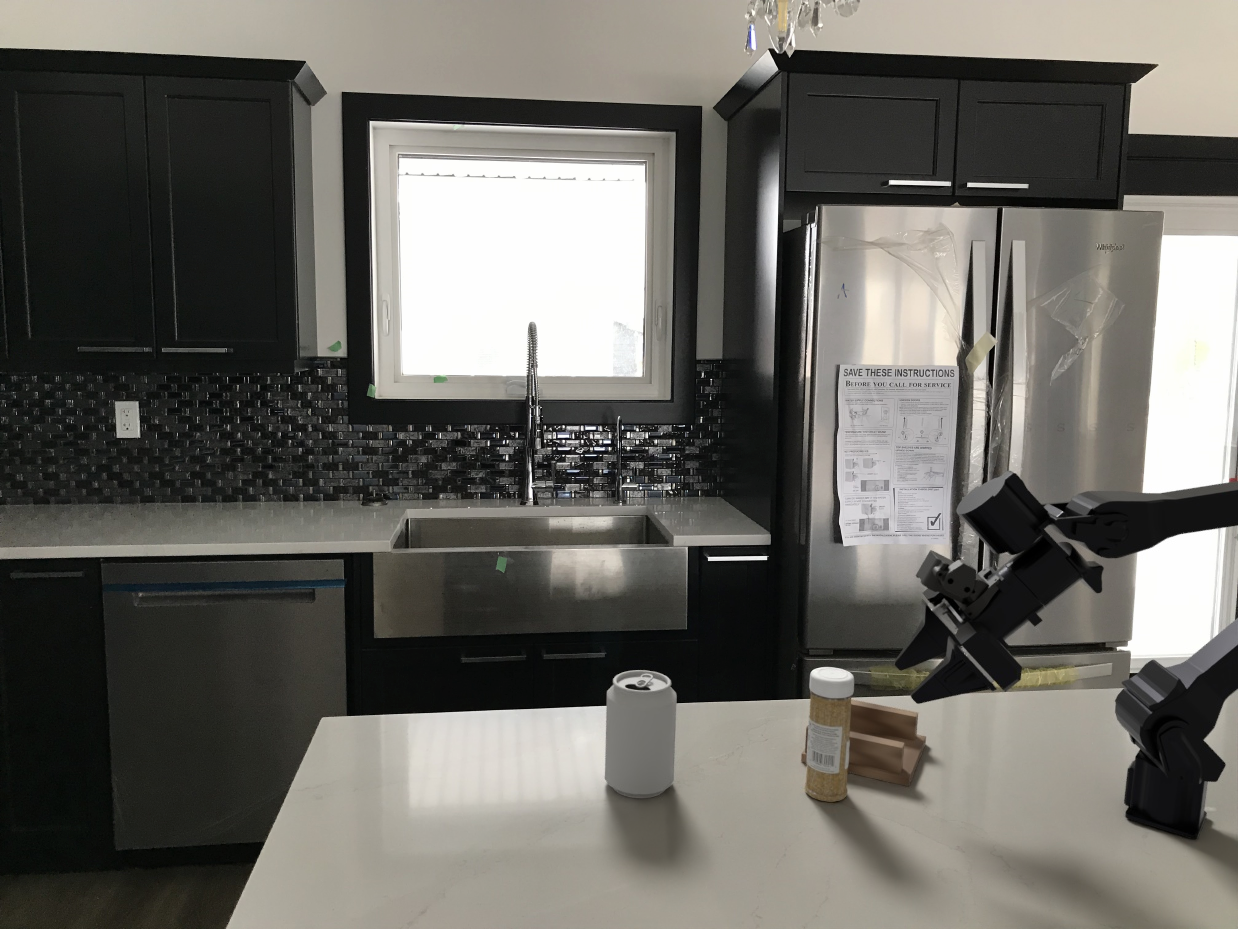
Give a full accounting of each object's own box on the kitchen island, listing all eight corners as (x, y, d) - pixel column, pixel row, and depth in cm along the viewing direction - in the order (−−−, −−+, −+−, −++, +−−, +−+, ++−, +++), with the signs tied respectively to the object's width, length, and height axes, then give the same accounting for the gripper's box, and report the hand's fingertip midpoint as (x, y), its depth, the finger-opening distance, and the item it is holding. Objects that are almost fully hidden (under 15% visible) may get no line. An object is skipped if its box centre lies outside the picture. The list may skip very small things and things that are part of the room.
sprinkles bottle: (855, 794, 100) (863, 674, 99) (831, 808, 97) (838, 684, 95) (819, 778, 104) (826, 662, 102) (794, 792, 101) (801, 672, 99)
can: (591, 791, 100) (594, 683, 98) (624, 763, 106) (627, 661, 105) (655, 809, 96) (658, 697, 95) (684, 779, 103) (688, 674, 101)
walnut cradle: (925, 744, 113) (928, 712, 112) (908, 786, 102) (911, 752, 102) (826, 723, 118) (828, 693, 118) (801, 761, 108) (802, 728, 107)
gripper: (948, 511, 104) (841, 601, 107) (997, 550, 86) (865, 657, 88) (1016, 584, 104) (907, 672, 107) (1078, 638, 86) (945, 743, 89)
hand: (904, 682), depth 98 cm, fingers open, 9 cm apart
